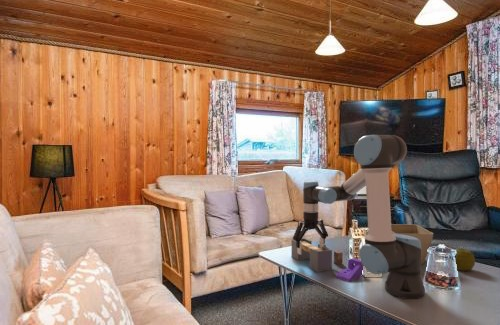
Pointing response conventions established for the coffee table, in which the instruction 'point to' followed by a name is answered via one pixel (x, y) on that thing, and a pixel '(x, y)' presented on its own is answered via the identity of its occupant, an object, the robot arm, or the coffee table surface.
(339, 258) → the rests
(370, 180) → the robot arm
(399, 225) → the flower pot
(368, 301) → the coffee table surface
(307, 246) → the slat
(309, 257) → the end caps
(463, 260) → the apple
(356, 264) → the bracket
